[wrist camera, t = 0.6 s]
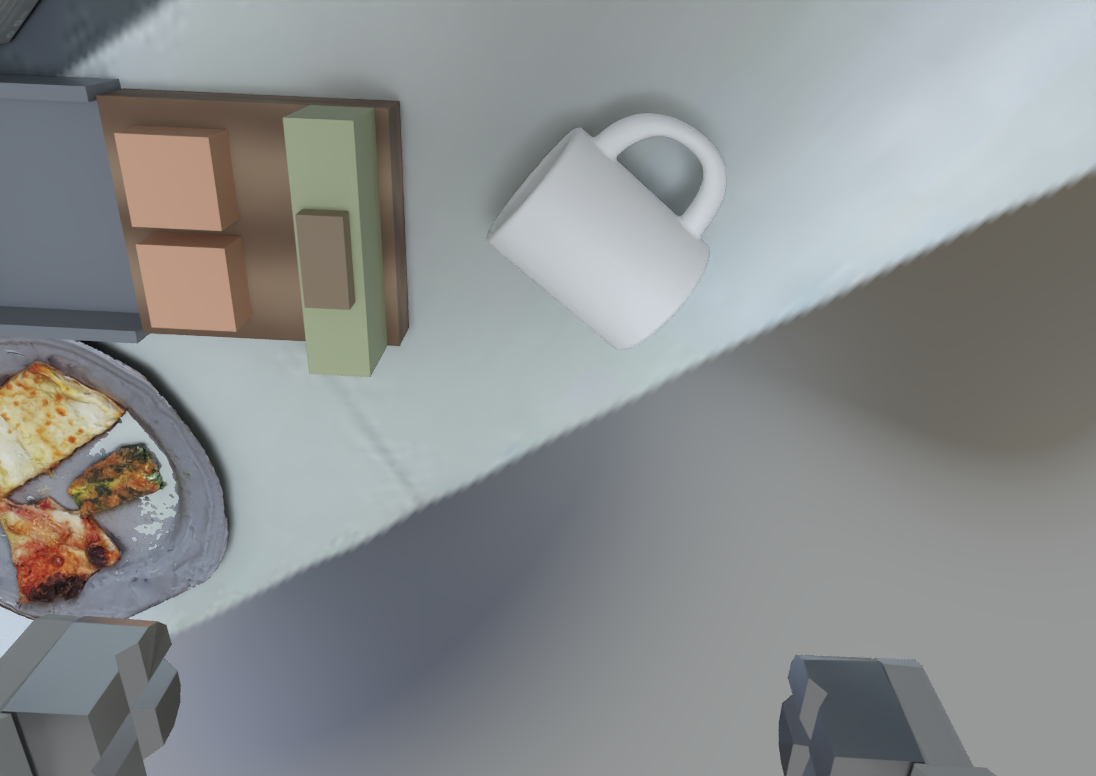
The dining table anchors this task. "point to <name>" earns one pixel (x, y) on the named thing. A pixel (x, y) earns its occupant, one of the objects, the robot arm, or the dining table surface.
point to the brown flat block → (262, 198)
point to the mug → (611, 230)
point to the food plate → (95, 488)
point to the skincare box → (13, 17)
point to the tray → (60, 216)
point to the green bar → (338, 236)
